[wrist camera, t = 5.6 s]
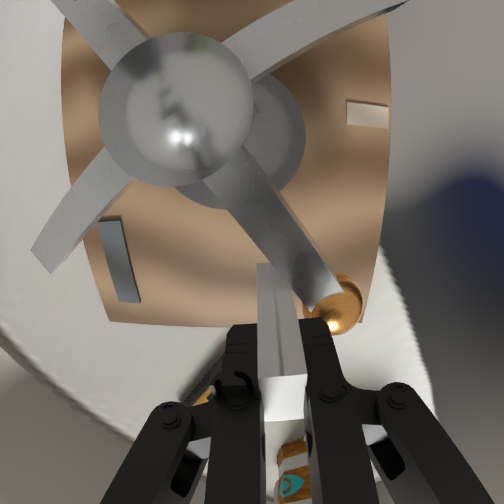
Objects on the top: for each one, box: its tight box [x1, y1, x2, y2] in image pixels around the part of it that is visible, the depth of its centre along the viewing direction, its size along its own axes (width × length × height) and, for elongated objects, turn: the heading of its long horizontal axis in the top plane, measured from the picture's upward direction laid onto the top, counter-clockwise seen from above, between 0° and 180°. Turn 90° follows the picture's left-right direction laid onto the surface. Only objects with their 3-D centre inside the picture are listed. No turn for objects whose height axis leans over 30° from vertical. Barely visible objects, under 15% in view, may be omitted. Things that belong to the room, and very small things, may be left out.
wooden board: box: [61, 0, 391, 327], centre depth 17 cm, size 26×22×2 cm
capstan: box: [31, 0, 409, 336], centre depth 11 cm, size 21×19×8 cm
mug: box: [274, 438, 312, 504], centre depth 31 cm, size 20×14×15 cm
